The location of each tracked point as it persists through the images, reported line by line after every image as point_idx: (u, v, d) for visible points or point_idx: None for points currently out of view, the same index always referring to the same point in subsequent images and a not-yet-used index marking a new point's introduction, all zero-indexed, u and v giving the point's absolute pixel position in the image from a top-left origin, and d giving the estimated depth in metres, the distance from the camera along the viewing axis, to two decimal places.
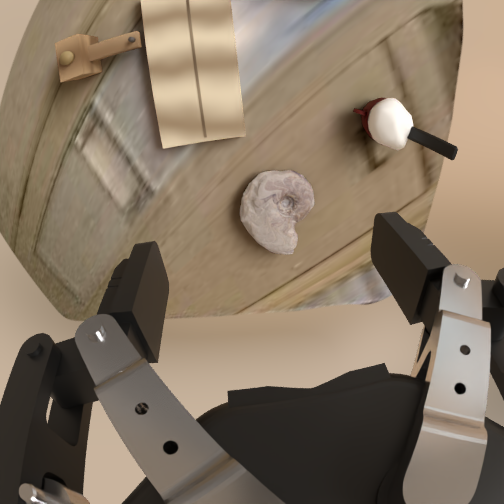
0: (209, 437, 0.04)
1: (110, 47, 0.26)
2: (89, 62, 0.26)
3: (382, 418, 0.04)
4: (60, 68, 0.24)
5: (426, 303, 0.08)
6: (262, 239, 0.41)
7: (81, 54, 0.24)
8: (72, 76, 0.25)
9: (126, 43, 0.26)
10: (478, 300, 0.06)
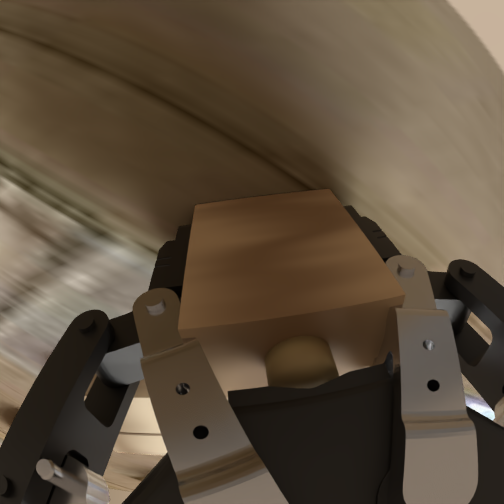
0: (242, 430, 0.04)
1: None
2: None
3: (382, 418, 0.04)
4: (258, 330, 0.06)
5: None
6: None
7: None
8: None
9: None
10: (419, 290, 0.07)
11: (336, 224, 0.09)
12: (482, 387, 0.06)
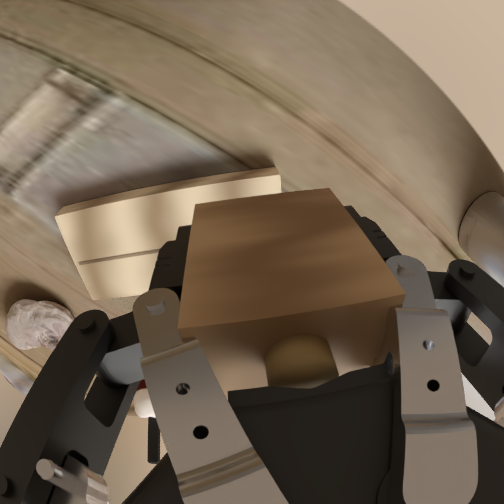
0: (242, 430, 0.04)
1: None
2: None
3: (382, 418, 0.04)
4: (258, 329, 0.06)
5: None
6: (11, 325, 0.28)
7: None
8: None
9: None
10: (419, 291, 0.07)
11: (336, 223, 0.09)
12: (482, 387, 0.06)
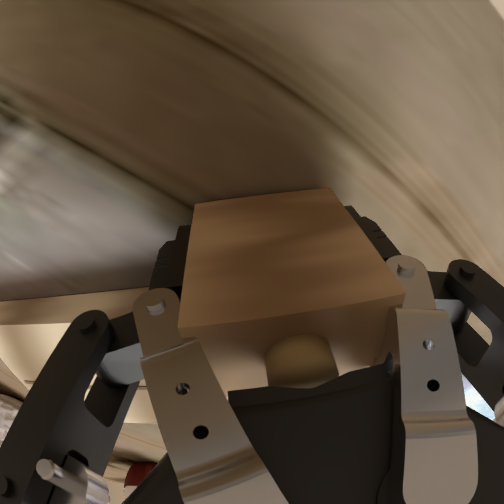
0: (242, 430, 0.04)
1: None
2: None
3: (382, 418, 0.04)
4: (258, 328, 0.06)
5: None
6: None
7: None
8: None
9: None
10: (419, 290, 0.07)
11: (336, 223, 0.09)
12: (482, 387, 0.06)
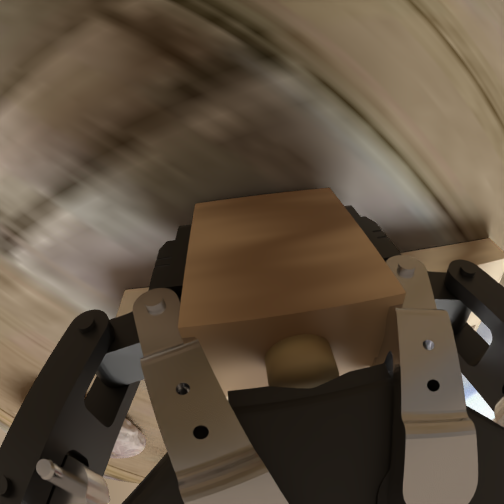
0: (241, 430, 0.04)
1: None
2: None
3: (382, 418, 0.04)
4: (259, 328, 0.06)
5: None
6: None
7: None
8: None
9: None
10: (419, 290, 0.07)
11: (336, 223, 0.09)
12: (482, 387, 0.06)
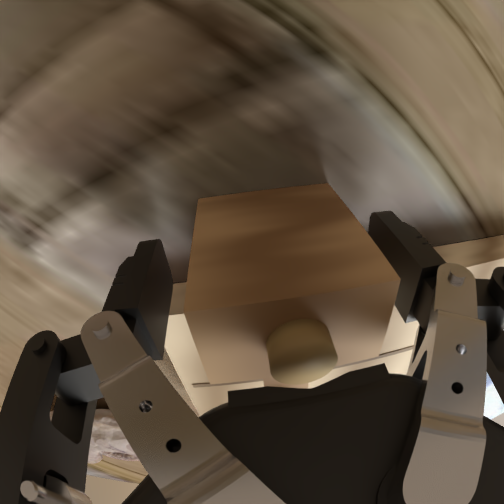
0: (212, 436, 0.04)
1: None
2: None
3: (382, 418, 0.04)
4: (260, 312, 0.07)
5: (421, 301, 0.08)
6: None
7: None
8: (206, 356, 0.07)
9: (281, 386, 0.13)
10: (472, 298, 0.06)
11: (334, 215, 0.09)
12: None
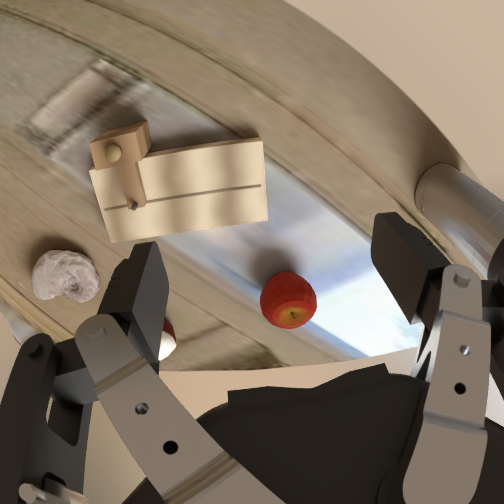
0: (209, 437, 0.04)
1: (128, 182, 0.31)
2: None
3: (382, 418, 0.04)
4: (104, 142, 0.26)
5: (426, 303, 0.08)
6: (37, 275, 0.36)
7: (118, 164, 0.28)
8: (94, 158, 0.27)
9: (132, 198, 0.32)
10: (478, 300, 0.06)
11: (137, 126, 0.29)
12: None
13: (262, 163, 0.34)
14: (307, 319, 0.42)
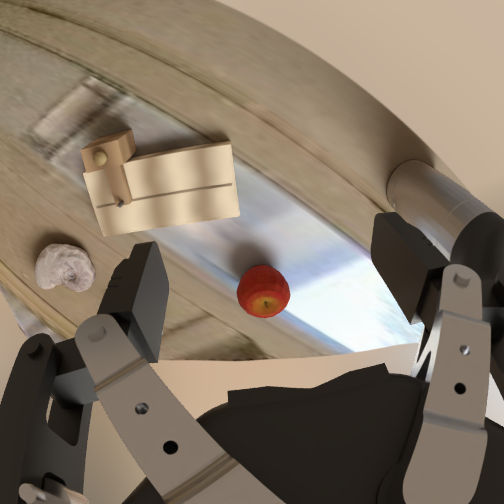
0: (209, 437, 0.04)
1: (115, 183, 0.36)
2: None
3: (382, 418, 0.04)
4: (92, 149, 0.30)
5: (426, 303, 0.08)
6: (39, 266, 0.41)
7: (105, 167, 0.32)
8: (84, 162, 0.31)
9: (118, 196, 0.37)
10: (478, 300, 0.06)
11: (121, 134, 0.33)
12: None
13: (231, 164, 0.37)
14: (280, 309, 0.45)
